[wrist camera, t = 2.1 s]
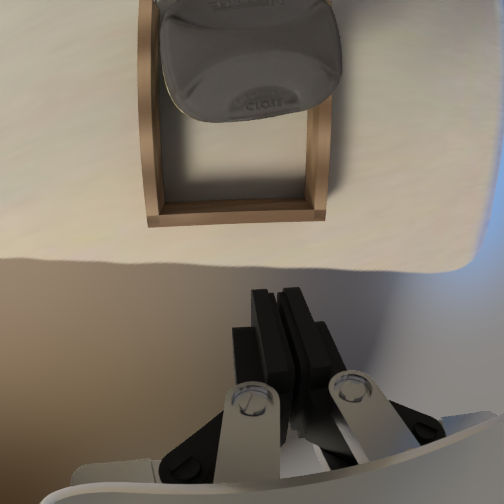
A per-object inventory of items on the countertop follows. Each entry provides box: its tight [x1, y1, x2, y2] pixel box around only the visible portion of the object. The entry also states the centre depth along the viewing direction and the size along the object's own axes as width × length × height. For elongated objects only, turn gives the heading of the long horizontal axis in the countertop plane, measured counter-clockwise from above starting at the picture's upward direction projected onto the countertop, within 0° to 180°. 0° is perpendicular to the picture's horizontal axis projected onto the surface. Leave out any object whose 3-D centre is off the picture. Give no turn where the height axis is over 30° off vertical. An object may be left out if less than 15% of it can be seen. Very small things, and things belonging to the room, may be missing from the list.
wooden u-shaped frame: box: [137, 0, 332, 228], centre depth 28 cm, size 22×17×4 cm
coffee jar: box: [160, 0, 342, 123], centre depth 20 cm, size 10×8×19 cm
